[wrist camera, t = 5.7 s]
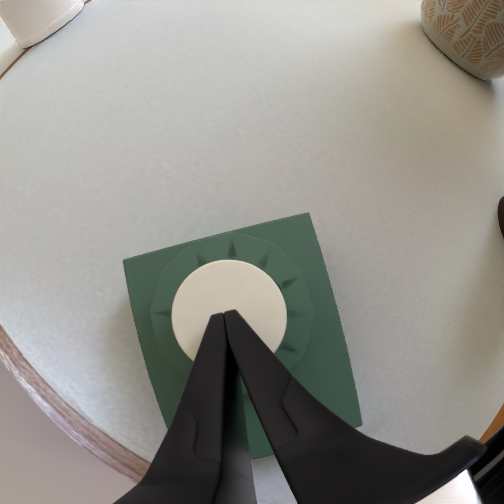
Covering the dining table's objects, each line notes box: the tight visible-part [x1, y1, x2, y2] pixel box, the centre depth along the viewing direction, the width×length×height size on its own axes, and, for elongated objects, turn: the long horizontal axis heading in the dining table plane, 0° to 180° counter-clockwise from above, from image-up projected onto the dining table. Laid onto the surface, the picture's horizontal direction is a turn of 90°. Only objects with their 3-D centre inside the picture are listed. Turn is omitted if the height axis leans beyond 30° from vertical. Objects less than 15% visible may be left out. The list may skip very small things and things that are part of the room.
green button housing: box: [123, 213, 362, 459], centre depth 14 cm, size 12×10×6 cm
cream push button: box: [172, 260, 287, 361], centre depth 11 cm, size 4×4×2 cm
